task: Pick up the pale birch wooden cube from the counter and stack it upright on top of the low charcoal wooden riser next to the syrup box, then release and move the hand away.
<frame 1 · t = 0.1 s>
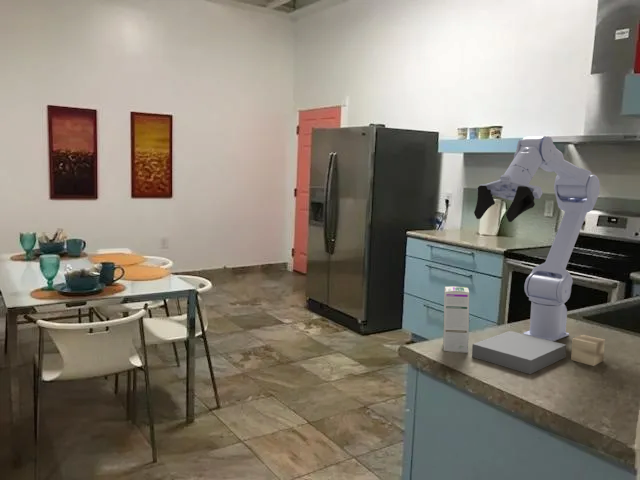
hand: (492, 217, 119), 32 cm above the worktop, tool tilted 50°, fingers open, 7 cm apart
birch block: (587, 360, 124), on the worktop
syrup box: (454, 349, 131), on the worktop
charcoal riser: (518, 357, 126), on the worktop
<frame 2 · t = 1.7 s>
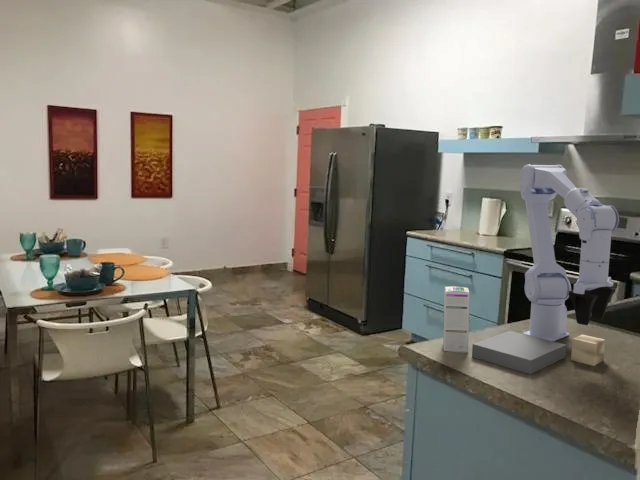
hand: (590, 321, 123), 9 cm above the worktop, tool pointing down, fingers open, 7 cm apart
nothing on the worktop moved.
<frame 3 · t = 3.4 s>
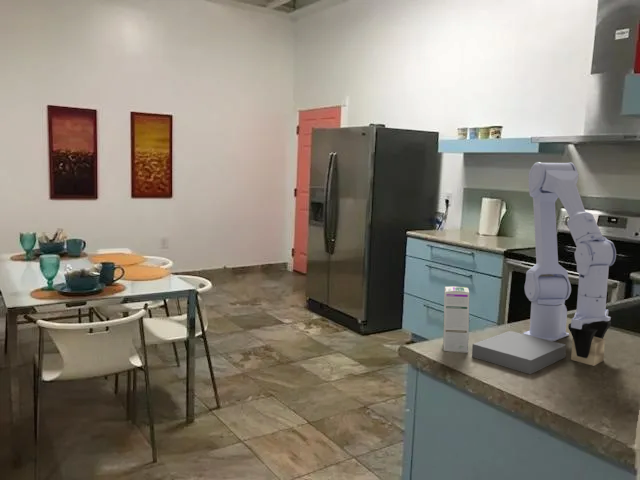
hand: (587, 354, 124), 1 cm above the worktop, tool pointing down, fingers closed on birch block, 5 cm apart
birch block: (587, 360, 124), on the worktop, touching gripper
everything else where it was.
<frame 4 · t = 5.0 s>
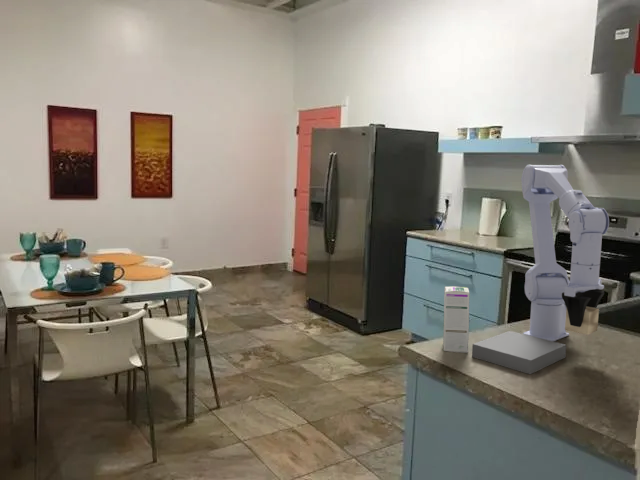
hand: (581, 323, 123), 8 cm above the worktop, tool pointing down, fingers closed on birch block, 5 cm apart
birch block: (581, 330, 123), point 7 cm above the worktop, touching gripper
everything else where it was.
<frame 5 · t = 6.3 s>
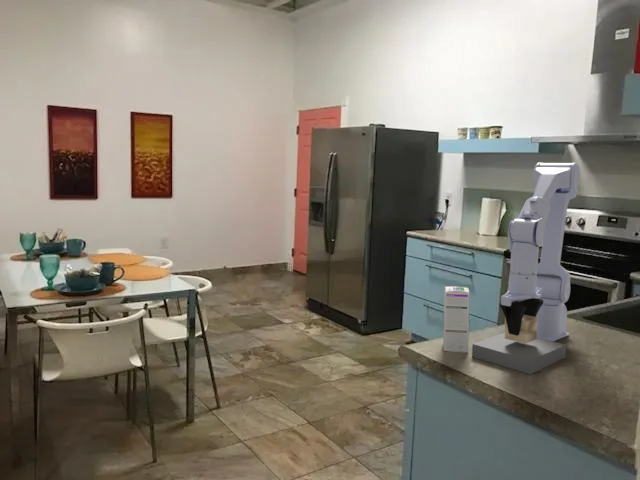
hand: (520, 331, 125), 6 cm above the worktop, tool pointing down, fingers closed on birch block, 5 cm apart
birch block: (520, 338, 125), point 4 cm above the worktop, touching gripper
everything else where it was.
when the fingers open (6 cm above the worktop, at t = 7.1 s): birch block drops 1 cm, resting on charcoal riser.
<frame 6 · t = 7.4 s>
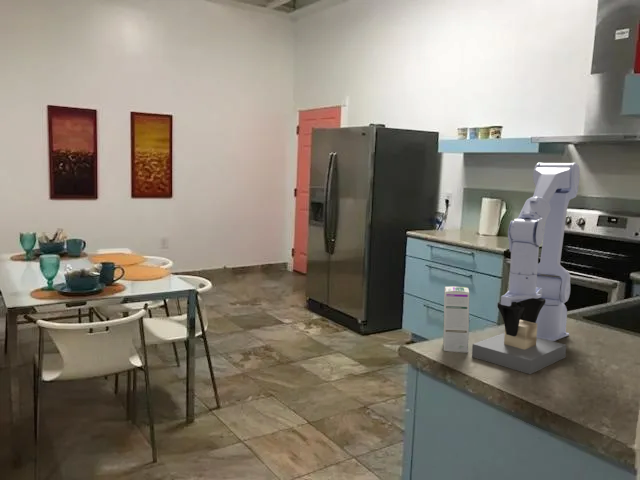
hand: (520, 331, 125), 6 cm above the worktop, tool pointing down, fingers open, 7 cm apart
birch block: (520, 344, 125), point 3 cm above the worktop, touching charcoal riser
everything else where it was.
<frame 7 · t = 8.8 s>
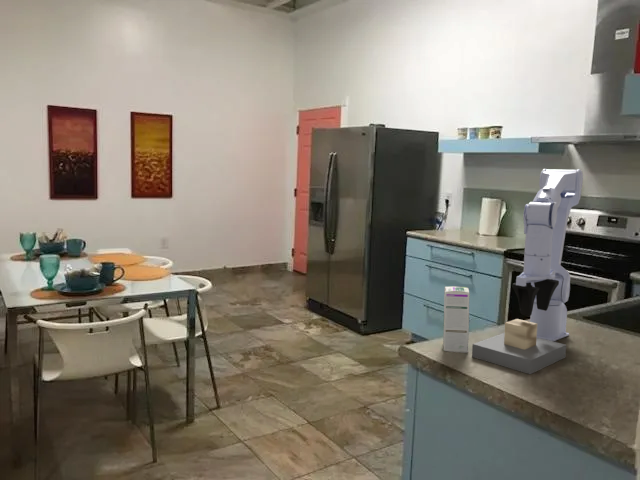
hand: (534, 312, 128), 9 cm above the worktop, tool pointing down, fingers open, 7 cm apart
nothing on the worktop moved.
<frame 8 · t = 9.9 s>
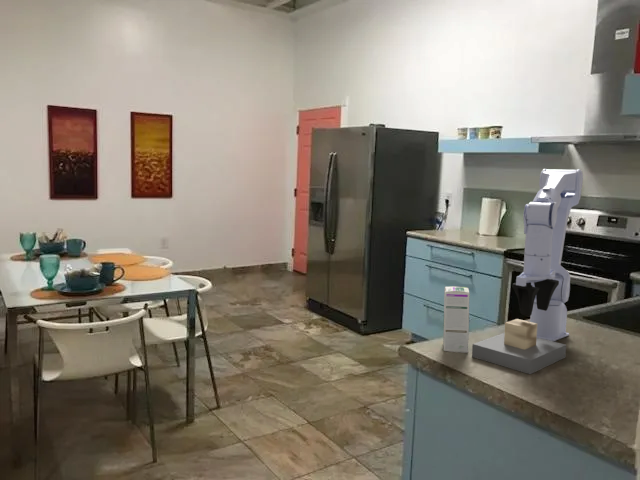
hand: (534, 312, 128), 9 cm above the worktop, tool pointing down, fingers open, 7 cm apart
nothing on the worktop moved.
at the end: birch block inside the target area on the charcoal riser (0.2 cm from its centre), point 3.0 cm above the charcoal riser's base; birch block tilted 0°; the gripper is holding nothing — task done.
